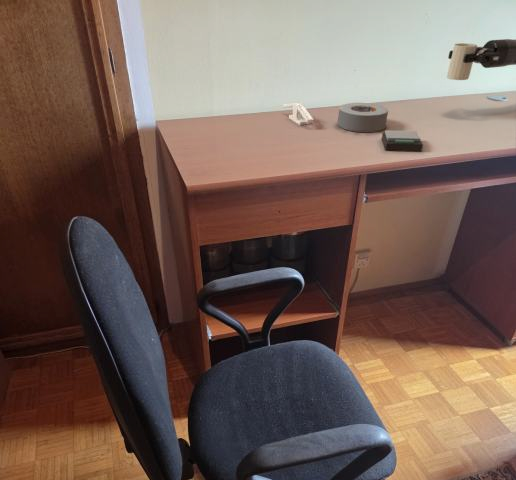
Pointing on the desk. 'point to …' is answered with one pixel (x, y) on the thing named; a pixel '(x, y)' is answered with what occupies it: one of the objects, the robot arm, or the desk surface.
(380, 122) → the tape roll
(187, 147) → the desk surface
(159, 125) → the desk surface
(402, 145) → the scale
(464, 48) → the cup
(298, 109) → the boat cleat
